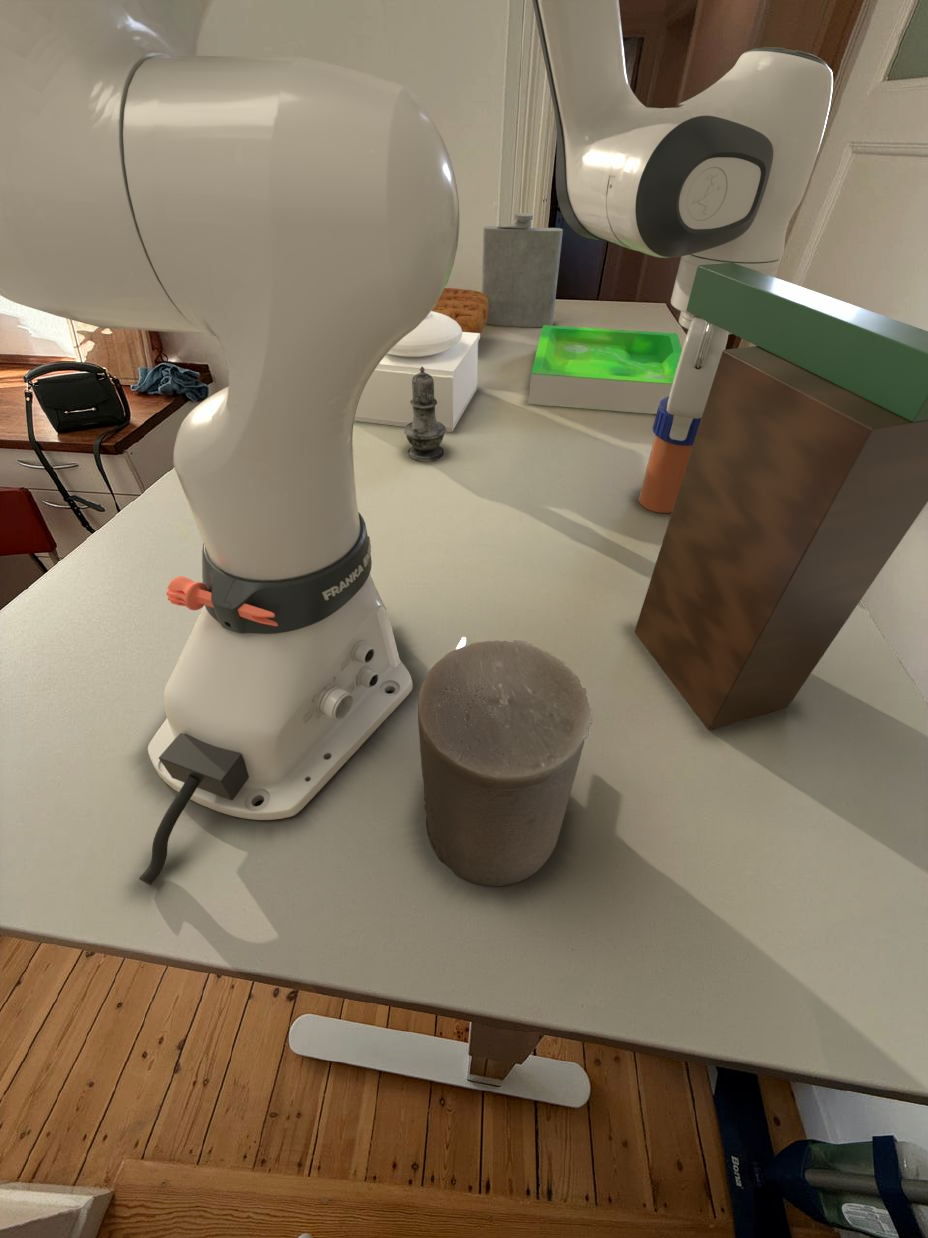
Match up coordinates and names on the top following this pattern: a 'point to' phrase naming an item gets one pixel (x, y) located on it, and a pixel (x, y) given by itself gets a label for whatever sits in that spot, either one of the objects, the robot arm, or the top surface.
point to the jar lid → (665, 423)
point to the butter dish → (441, 357)
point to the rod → (819, 335)
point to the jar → (664, 475)
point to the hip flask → (520, 272)
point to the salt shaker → (424, 421)
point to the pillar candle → (499, 757)
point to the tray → (604, 368)
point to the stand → (776, 533)
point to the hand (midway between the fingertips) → (681, 424)
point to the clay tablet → (464, 308)
